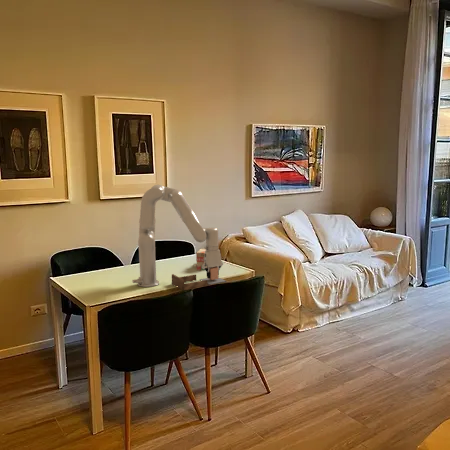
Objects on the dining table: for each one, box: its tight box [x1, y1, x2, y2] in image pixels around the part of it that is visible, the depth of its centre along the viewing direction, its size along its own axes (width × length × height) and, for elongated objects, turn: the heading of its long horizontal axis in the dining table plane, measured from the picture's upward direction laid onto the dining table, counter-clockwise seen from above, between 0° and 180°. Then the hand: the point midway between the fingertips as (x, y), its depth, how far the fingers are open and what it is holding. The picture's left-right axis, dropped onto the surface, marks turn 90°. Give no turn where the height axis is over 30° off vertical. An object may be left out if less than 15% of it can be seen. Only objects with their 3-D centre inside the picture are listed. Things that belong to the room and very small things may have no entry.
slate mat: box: [199, 277, 227, 286], centre depth 283 cm, size 12×12×1 cm
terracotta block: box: [208, 267, 218, 280], centre depth 282 cm, size 5×5×7 cm
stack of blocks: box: [195, 248, 207, 271], centre depth 317 cm, size 21×6×12 cm, turn 170°
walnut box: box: [171, 273, 208, 291], centre depth 274 cm, size 16×15×6 cm
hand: (212, 276), depth 283 cm, fingers closed on terracotta block, 5 cm apart
